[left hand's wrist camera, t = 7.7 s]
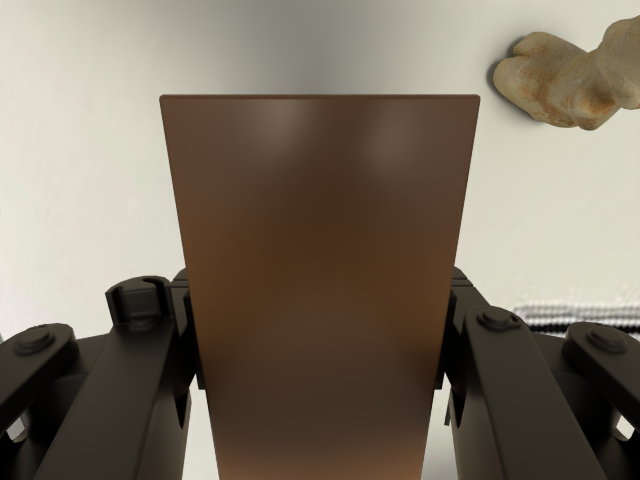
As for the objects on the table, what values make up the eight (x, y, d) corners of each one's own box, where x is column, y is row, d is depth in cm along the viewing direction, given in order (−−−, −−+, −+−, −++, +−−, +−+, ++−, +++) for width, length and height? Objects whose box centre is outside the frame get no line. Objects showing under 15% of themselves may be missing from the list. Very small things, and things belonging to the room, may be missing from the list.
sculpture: (531, 20, 27) (759, -70, 13) (584, 85, 29) (835, 67, 15) (474, 82, 29) (623, 61, 15) (527, 140, 30) (706, 171, 16)
